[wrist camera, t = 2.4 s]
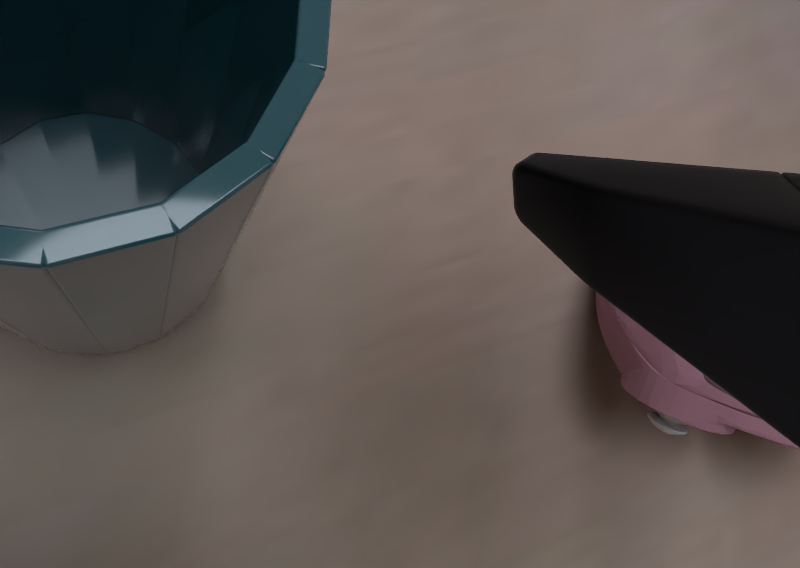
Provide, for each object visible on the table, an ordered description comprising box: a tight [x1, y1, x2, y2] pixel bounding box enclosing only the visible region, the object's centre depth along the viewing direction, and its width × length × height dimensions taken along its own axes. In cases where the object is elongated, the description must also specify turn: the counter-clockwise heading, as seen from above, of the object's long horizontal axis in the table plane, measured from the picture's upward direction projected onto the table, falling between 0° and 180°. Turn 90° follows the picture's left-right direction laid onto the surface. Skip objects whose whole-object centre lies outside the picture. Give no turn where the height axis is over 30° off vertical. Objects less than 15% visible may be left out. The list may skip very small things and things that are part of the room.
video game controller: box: [596, 292, 800, 450], centre depth 23 cm, size 10×5×7 cm, turn 77°
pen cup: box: [0, 0, 331, 355], centre depth 14 cm, size 7×7×13 cm
